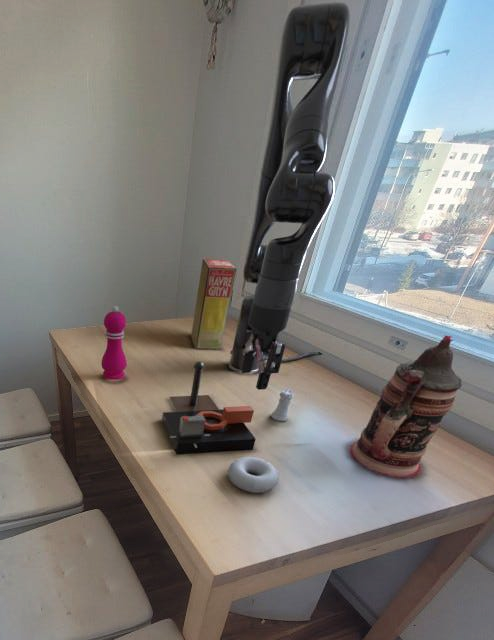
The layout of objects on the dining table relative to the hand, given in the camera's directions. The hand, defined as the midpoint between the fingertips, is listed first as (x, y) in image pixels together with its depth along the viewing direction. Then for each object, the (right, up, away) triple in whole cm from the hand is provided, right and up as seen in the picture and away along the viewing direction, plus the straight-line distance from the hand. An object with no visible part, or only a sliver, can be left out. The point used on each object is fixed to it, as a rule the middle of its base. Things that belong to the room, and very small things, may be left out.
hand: (252, 380), depth 91 cm
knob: (-14, -12, +1) cm, 18 cm away
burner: (-8, -8, +6) cm, 13 cm away
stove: (-10, -12, +6) cm, 16 cm away
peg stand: (-10, -2, +17) cm, 20 cm away
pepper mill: (-31, +9, +30) cm, 44 cm away
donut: (-2, -23, -6) cm, 24 cm away
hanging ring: (-5, -8, +6) cm, 11 cm away
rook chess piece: (+11, -7, +14) cm, 19 cm away
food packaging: (+1, +29, +55) cm, 63 cm away
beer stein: (+29, -18, +1) cm, 34 cm away
